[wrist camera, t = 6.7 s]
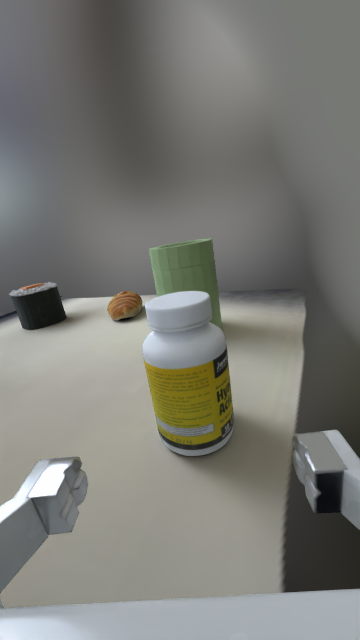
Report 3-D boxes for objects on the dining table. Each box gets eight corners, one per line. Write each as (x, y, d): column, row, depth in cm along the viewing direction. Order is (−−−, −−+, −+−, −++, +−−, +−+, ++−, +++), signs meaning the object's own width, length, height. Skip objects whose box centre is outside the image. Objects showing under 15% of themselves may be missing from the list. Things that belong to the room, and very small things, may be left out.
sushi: (73, 316, 55) (61, 279, 53) (32, 331, 50) (17, 290, 47) (55, 314, 61) (44, 279, 58) (16, 327, 55) (2, 289, 52)
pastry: (144, 318, 47) (139, 297, 45) (105, 326, 46) (100, 305, 45) (143, 305, 55) (139, 287, 54) (111, 311, 55) (106, 293, 54)
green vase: (191, 349, 32) (175, 247, 28) (154, 336, 38) (136, 250, 34) (234, 326, 36) (225, 236, 32) (194, 318, 42) (183, 241, 38)
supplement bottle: (239, 458, 16) (222, 306, 13) (153, 460, 17) (118, 318, 14) (232, 402, 21) (219, 283, 18) (166, 406, 22) (143, 293, 19)
